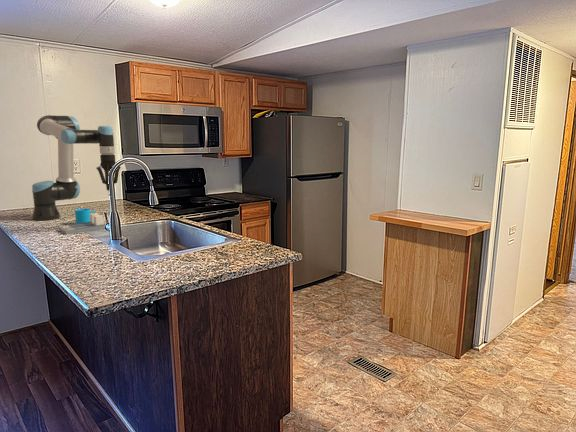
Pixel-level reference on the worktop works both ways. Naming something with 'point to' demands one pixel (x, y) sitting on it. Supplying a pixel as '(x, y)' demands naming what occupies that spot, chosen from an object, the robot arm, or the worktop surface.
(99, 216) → the tab
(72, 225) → the switch bank
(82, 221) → the mug
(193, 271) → the worktop surface
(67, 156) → the robot arm
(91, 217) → the tab
